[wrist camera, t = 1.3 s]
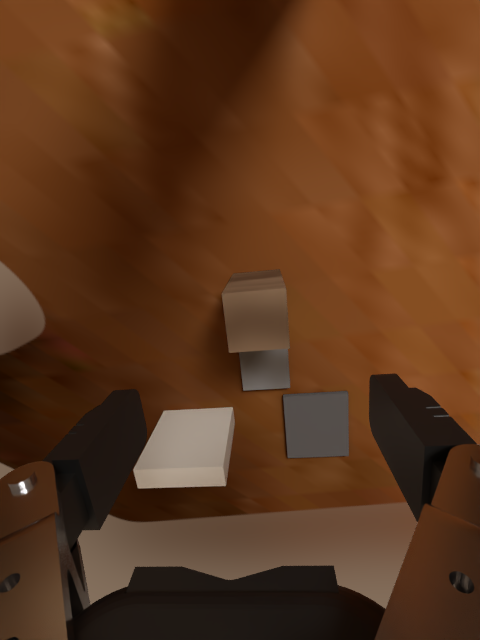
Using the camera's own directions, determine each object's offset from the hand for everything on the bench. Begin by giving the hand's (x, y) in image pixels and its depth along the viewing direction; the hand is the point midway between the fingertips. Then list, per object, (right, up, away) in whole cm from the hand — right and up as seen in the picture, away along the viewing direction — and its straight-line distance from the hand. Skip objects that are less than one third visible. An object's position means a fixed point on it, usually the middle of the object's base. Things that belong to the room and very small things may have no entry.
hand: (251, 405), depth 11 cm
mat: (+7, -7, +20) cm, 23 cm away
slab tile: (-5, -7, +21) cm, 23 cm away
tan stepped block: (+2, +2, +18) cm, 18 cm away
